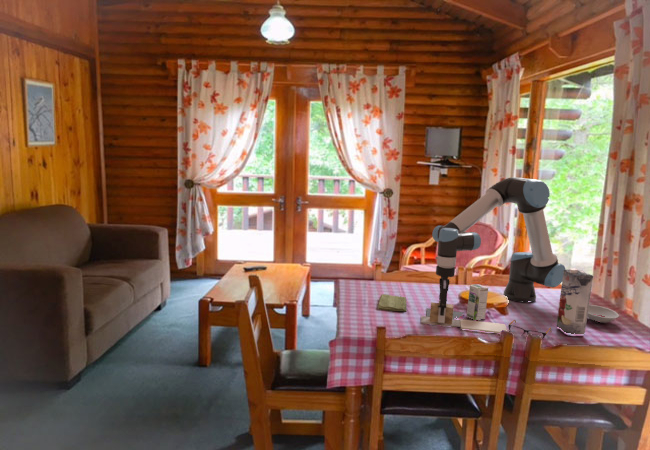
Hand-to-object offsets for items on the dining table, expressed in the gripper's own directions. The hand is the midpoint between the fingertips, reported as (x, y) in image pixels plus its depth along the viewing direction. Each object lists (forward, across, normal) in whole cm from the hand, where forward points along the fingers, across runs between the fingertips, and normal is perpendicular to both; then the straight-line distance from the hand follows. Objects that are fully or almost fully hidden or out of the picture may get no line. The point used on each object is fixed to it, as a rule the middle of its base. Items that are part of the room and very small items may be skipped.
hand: (440, 318), depth 214 cm
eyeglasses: (+2, -1, +35) cm, 35 cm away
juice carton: (+2, -6, +52) cm, 52 cm away
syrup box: (+2, -11, +15) cm, 19 cm away
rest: (+2, +1, +17) cm, 17 cm away
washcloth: (+2, -16, -21) cm, 27 cm away
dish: (+2, -25, +68) cm, 72 cm away
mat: (+2, -11, +2) cm, 11 cm away
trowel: (+2, 0, 0) cm, 2 cm away
